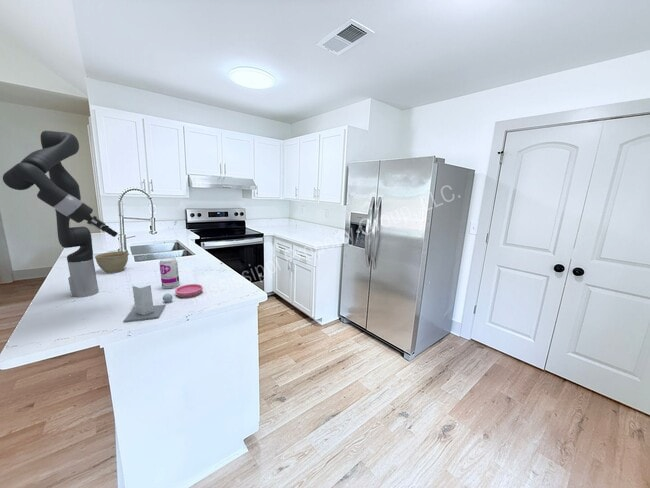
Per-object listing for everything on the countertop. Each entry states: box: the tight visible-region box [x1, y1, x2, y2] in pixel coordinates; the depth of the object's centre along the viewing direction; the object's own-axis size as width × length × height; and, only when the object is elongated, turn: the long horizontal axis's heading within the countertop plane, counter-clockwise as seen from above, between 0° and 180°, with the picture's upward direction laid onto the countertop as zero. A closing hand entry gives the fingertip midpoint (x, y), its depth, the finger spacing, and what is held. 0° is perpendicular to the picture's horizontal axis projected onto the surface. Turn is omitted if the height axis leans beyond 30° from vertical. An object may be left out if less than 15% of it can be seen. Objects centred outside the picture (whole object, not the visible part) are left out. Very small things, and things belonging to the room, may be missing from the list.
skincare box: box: [131, 282, 154, 315], centre depth 109 cm, size 6×4×12 cm
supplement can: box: [159, 257, 180, 289], centre depth 141 cm, size 8×8×15 cm
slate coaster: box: [123, 304, 166, 323], centre depth 111 cm, size 12×12×1 cm
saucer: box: [174, 283, 204, 298], centre depth 133 cm, size 12×12×3 cm
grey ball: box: [162, 293, 174, 303], centre depth 122 cm, size 4×4×4 cm
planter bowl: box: [94, 251, 129, 274], centre depth 164 cm, size 16×16×11 cm
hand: (113, 233), depth 114 cm, fingers open, 8 cm apart
